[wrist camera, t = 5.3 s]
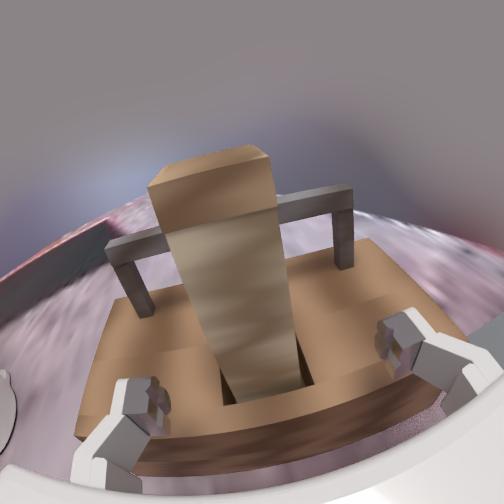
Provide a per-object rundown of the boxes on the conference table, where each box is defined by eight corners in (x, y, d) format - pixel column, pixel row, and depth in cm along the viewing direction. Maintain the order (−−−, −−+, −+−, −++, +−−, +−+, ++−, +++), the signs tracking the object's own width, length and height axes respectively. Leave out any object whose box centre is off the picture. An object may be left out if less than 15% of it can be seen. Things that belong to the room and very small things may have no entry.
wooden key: (248, 424, 15) (146, 187, 8) (240, 381, 18) (165, 165, 11) (305, 411, 15) (269, 156, 8) (291, 368, 18) (251, 144, 11)
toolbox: (137, 475, 15) (0, 367, 8) (149, 355, 27) (85, 238, 20) (432, 404, 15) (503, 246, 8) (365, 303, 28) (367, 170, 21)
